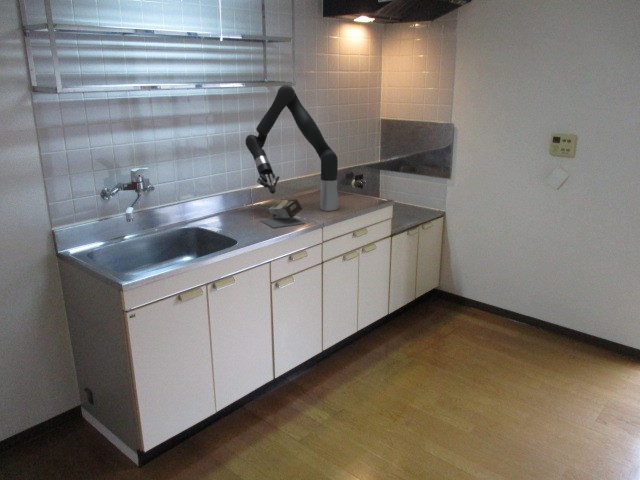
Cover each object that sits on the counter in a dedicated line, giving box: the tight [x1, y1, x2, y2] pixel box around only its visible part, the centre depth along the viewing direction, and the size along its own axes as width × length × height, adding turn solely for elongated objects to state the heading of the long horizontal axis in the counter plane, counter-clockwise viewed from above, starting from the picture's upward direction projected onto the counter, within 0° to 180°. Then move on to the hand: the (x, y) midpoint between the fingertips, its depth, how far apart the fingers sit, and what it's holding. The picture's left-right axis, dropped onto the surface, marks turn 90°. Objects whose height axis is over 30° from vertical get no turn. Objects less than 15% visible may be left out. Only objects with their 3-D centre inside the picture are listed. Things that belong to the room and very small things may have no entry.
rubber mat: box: [259, 216, 306, 229], centre depth 272 cm, size 18×16×1 cm
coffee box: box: [268, 198, 303, 219], centre depth 275 cm, size 9×6×16 cm
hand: (273, 192), depth 277 cm, fingers closed
